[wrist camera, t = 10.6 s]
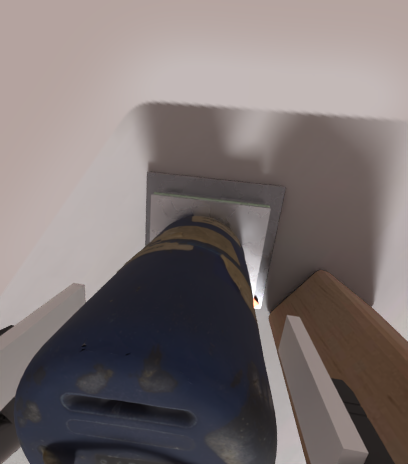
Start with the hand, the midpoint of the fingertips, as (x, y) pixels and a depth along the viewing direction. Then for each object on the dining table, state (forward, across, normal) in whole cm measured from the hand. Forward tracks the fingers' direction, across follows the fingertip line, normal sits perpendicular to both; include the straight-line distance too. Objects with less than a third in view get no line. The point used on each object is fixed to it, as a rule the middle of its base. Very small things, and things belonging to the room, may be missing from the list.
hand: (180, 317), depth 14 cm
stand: (+15, 0, 0) cm, 15 cm away
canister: (+10, 0, 0) cm, 10 cm away
